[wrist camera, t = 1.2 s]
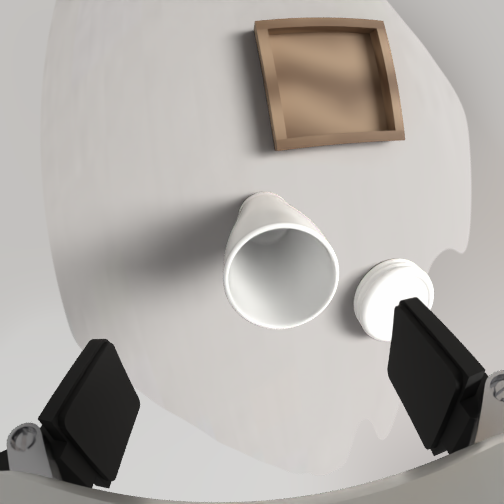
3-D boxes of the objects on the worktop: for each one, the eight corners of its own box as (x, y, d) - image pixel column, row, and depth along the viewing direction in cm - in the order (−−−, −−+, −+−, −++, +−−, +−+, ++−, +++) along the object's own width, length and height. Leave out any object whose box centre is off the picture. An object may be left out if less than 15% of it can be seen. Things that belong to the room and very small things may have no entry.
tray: (254, 30, 24) (254, 21, 22) (373, 27, 24) (383, 21, 21) (274, 150, 29) (277, 150, 26) (393, 139, 28) (405, 140, 26)
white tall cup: (218, 205, 30) (197, 262, 16) (277, 171, 29) (308, 198, 15) (252, 259, 33) (260, 348, 18) (308, 228, 32) (357, 297, 17)
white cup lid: (371, 340, 37) (381, 356, 34) (337, 290, 34) (346, 305, 31) (430, 297, 36) (443, 310, 32) (405, 240, 33) (419, 251, 29)
